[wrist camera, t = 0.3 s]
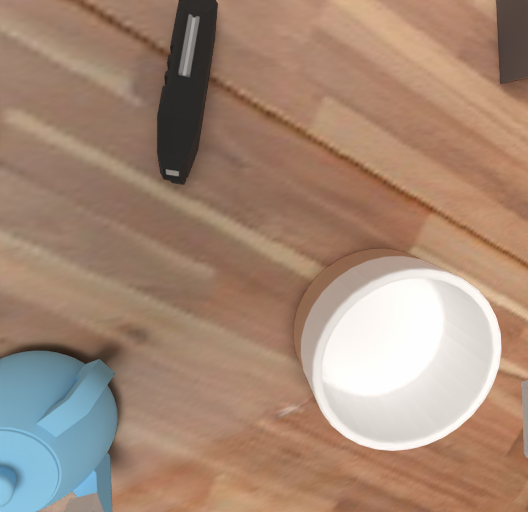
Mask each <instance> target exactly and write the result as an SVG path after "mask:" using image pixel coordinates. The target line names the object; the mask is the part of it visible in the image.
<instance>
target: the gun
mask: <svg viewBox="0 0 528 512" xmlns="http://www.w3.org/2000/svg"><path fill="white" fill-rule="evenodd" d="M217 7H218V3H217V1H216V0H179V3H178V9H177V14H176V19H175V25H174V30H173V35H172V41H171V46H170V50H171V54H170V55H169V57H168V62H167V64H168V70H167V71H166V73H165V86H163V89H162V94H161V99H160V105H159V110H158V115H157V154H158V161H159V167H160V173H161V175H162V177H163V179H164V180H170V181H171V182H172V183H176V184H183V185H184V184H185V181H186V178H187V177H188V175H189V172H190V170H191V167H192V164H193V162H194V159H195V156H196V154H197V151H198V146H199V140H200V133H201V127H202V120H203V114H204V107H205V100H206V94H207V87H208V81H209V74H210V68H211V61H212V55H213V48H214V42H215V31H216V19H217Z"/></svg>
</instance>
